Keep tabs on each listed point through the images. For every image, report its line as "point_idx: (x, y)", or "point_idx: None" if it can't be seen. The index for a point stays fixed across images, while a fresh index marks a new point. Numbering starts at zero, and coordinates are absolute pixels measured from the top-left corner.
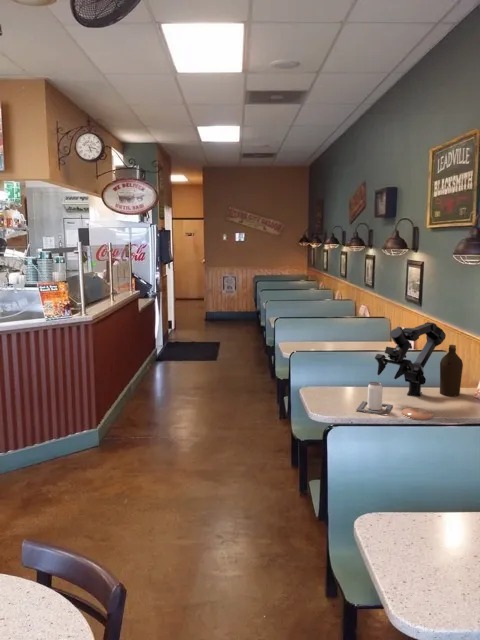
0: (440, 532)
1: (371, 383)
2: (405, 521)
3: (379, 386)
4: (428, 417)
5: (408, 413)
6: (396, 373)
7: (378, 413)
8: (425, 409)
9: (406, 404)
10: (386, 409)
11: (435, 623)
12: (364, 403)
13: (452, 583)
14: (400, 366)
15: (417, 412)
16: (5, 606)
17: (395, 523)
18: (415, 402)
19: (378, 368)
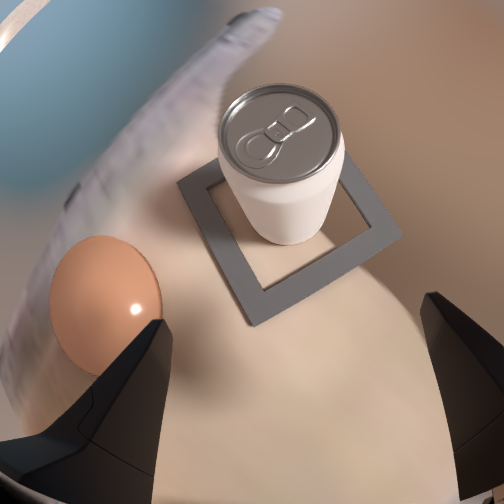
0: (7, 35)
1: (321, 123)
2: (28, 17)
3: (222, 131)
4: (52, 294)
5: (107, 258)
6: (131, 367)
7: (214, 160)
8: (97, 372)
9: (227, 410)
10: (221, 231)
11: (14, 9)
12: (368, 211)
13: (5, 24)
14: (47, 452)
15: (92, 305)
16: None
17: (35, 10)
18: (221, 465)
19: (489, 338)
